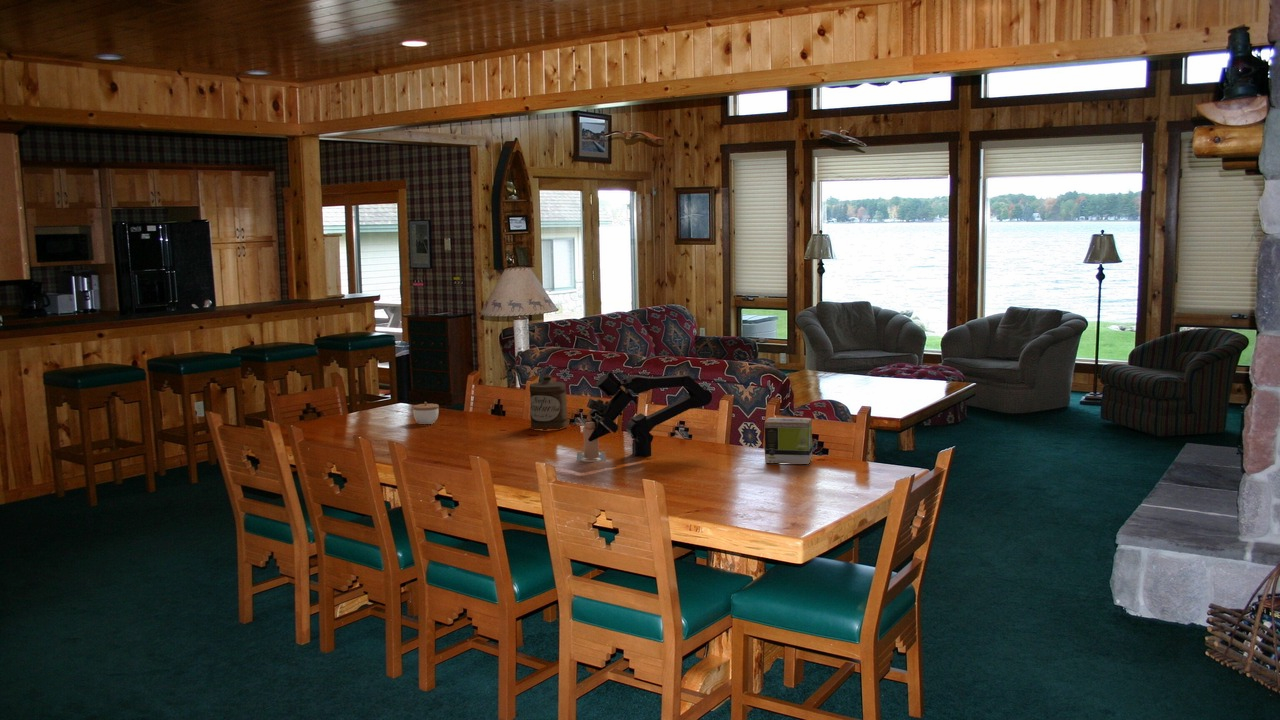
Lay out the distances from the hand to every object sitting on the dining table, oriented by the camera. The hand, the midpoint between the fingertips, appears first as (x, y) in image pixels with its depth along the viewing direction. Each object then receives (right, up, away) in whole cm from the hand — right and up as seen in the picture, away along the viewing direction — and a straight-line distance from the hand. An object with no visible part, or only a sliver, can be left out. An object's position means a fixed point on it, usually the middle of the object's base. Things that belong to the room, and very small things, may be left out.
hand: (587, 439), depth 349 cm
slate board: (+1, -8, +6) cm, 10 cm away
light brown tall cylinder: (+2, -6, +1) cm, 7 cm away
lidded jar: (-72, 0, +80) cm, 107 cm away
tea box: (+69, -8, -4) cm, 69 cm away
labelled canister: (-19, -1, +65) cm, 68 cm away
